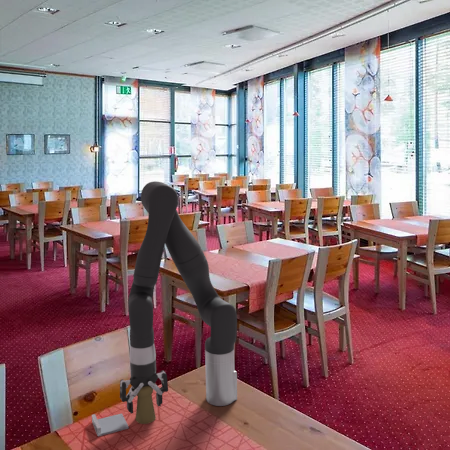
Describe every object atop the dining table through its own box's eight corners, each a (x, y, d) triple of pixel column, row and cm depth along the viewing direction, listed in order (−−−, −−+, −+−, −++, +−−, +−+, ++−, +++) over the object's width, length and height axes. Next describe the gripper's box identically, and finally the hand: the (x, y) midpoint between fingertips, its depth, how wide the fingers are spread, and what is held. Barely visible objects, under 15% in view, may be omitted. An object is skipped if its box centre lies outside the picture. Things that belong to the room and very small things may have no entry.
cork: (151, 424, 149) (150, 390, 147) (132, 422, 150) (130, 388, 148) (158, 413, 154) (157, 380, 153) (139, 412, 156) (138, 379, 154)
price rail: (95, 421, 151) (95, 414, 150) (101, 435, 144) (100, 427, 143) (92, 422, 150) (91, 414, 150) (97, 436, 143) (97, 428, 143)
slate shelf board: (121, 415, 154) (121, 413, 154) (128, 428, 147) (128, 426, 147) (95, 421, 151) (95, 419, 151) (101, 435, 144) (101, 433, 143)
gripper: (161, 349, 155) (163, 397, 158) (115, 358, 149) (118, 408, 152) (169, 358, 148) (171, 409, 151) (122, 368, 142) (124, 420, 145)
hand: (145, 408), depth 152 cm, fingers open, 8 cm apart
